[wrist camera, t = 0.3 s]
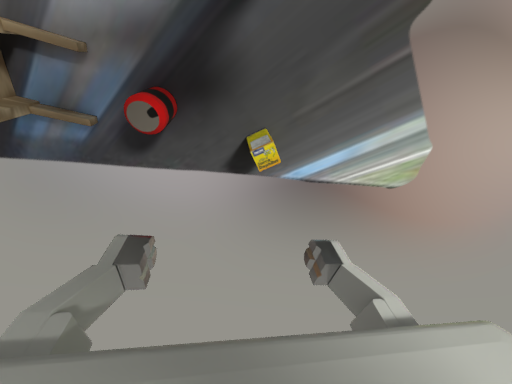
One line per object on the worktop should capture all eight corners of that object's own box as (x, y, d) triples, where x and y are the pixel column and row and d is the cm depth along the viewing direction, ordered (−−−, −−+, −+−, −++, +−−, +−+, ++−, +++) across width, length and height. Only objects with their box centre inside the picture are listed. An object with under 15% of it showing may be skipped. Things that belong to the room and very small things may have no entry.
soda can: (183, 113, 48) (172, 127, 38) (157, 125, 49) (140, 142, 39) (164, 80, 44) (146, 87, 34) (136, 95, 45) (110, 105, 35)
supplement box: (254, 154, 57) (259, 172, 48) (245, 136, 53) (249, 152, 44) (273, 145, 56) (281, 162, 47) (265, 127, 53) (273, 141, 44)
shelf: (-29, -6, 33) (-202, -48, 20) (84, 30, 38) (4, 15, 24) (14, 112, 44) (-81, 137, 30) (98, 130, 48) (49, 159, 35)
